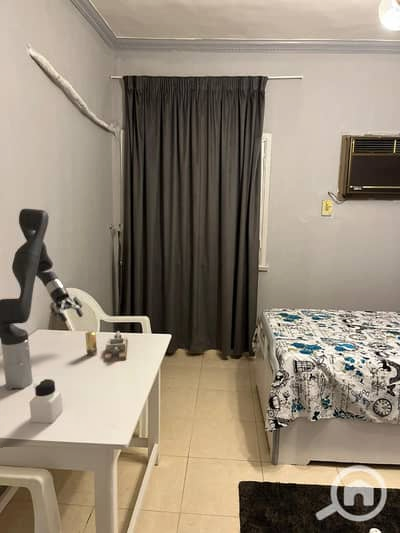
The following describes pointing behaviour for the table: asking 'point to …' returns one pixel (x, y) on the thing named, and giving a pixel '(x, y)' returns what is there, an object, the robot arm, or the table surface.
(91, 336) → the ball
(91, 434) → the table surface
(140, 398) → the table surface
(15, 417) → the table surface
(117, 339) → the shaft rig
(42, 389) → the medicine bottle
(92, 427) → the table surface
